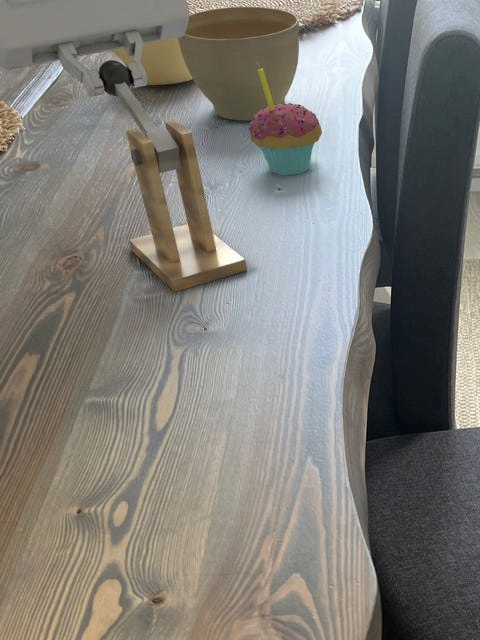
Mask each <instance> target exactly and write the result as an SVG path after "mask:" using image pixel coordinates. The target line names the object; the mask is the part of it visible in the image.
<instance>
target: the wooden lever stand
mask: <svg viewBox="0 0 480 640" xmlns="http://www.w3.org/2000/svg"><path fill="white" fill-rule="evenodd" d="M164 125H165V129H167V131H168V132H169V133H170V135H171V136H172V138H173V139H174V141H175V142H176V144H177V145H178V147H179V154H180V167H181V168H179V169H175V170H174V171H175V173H176V179H177V183H178V187H179V191H180V196H181V200H182V204H183V209H184V213H185V218H186V223H187V224H186V223H185V224H182V225H178V226H175V227H173V224H172V219H171V215H170V211H169V206H168V202H167V198H166V194H165V189H164V186H163V182H162V177H161V173H160V172H159V168H158V164H157V160H156V156H155V151H154V147H153V143H152V141H151V140H149V139H148V138H147V137H145V136H144V134H143V133H142V132H140V131H139V130H138V129H136V128H132V129H127V130H126V131H125V133H126V138H127V141H128V145H129V149H130V156H131V159H132V162H133V165H134V169H135V172H136V177H137V181H138V184H139V188H140V189H139V190H140V193H141V197H142V201H143V204H144V209H145V213H146V216H147V220H148V224H149V228H150V231H151V232H150V234H146V235H145V234H144V235H142V236H139V237H135V238H131V239H129V240H128V242H129V246H130V249H131V250H130V251H132V253H134V255H136V256H137V258H139V259H140V260H141V261H142V262H143V263H144V264H145V265H146V266H147V267H148V268H149V269H150V270H151V271H152V272H153V273H155V274H156V276H158V277H159V278H160V280H162V281H163V282H164V283H165V284H166V285H167V286H168V287H169V288H170V289H171V290H172V291H173V292H175V293H176V292H180V291H182V290H185V289H189V288H192V287H196V286H200V285H203V284H206V283H207V284H208V283H209V282H213V281H216V280H219V279H223V278H228V277H230V276H232V275H237V274H240V273H243V272H247V271H248V267H247V261H246V259H245V258H244V257H243V256H242V255H241V254H239V253H238V252H236V250H234V249H233V248H232V247H231V246H230V245H228V244H227V243H226V242H225V241H223V240H222V239H221V238H220V237H218V236H217V235H216V234H215V233H214V232H213V227H212V222H211V217H210V213H209V209H208V204H207V203H208V202H207V199H206V193H205V189H204V185H203V178H202V175H201V170H200V166H199V159H198V156H197V151H196V145H195V141H194V137H193V132H192V131H190V130H189V129H188V128H186V127H185V126H183V125H182V124H181V123H179V122H177V121H176V120H175V119H173V120H172V119H171V120H168V121H167V120H166V121H165V122H164Z"/></svg>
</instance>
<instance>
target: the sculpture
mask: <svg viewBox="0 0 480 640" xmlns="http://www.w3.org/2000/svg"><path fill="white" fill-rule="evenodd" d="M113 51H114V54H115V56H116V57H117V58H118V59H119V60H121V61H122V62H121V63H122V64H123V65H124V66H125V67H126V63H130V62H133V61H134V55H133V56H128V54H127V52H126V50H125V48H121V49H116V50H113ZM141 63H142V66H143V68H144V70H145V72H146V75H147V85H146V86H163V85H173V84H175V85H176V84H180V83H181V84H182V83H185V82H188V81H189V82H190V81H192V80H193V78H192V76H191V74H190V73H189V71H188V69H187V66H186V64H185V62H184V59H183V56H182V53H181V49H180V45H179V41H178V39H177V38H174V39H169V40H164V41H158V42H153V43H148V44H143V46H142V57H141Z"/></svg>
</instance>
